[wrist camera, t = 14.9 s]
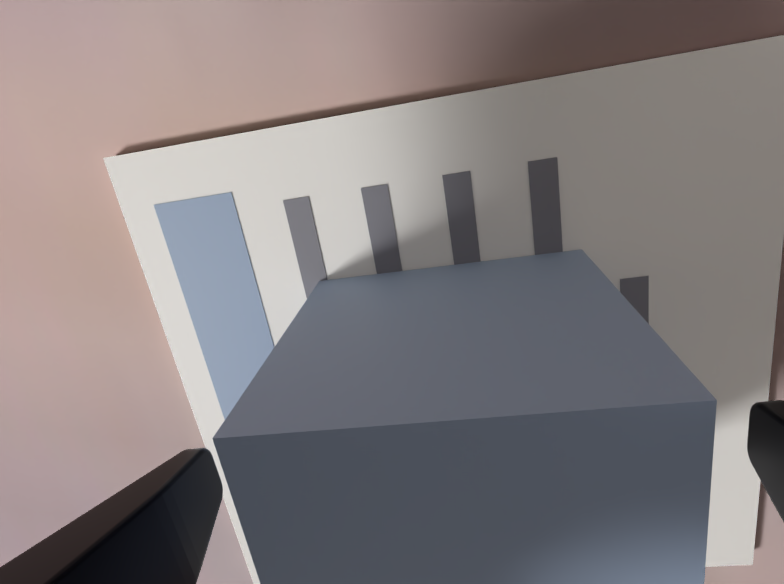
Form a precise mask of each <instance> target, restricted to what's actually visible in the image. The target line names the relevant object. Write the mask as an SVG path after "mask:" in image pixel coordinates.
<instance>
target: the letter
mask: <svg viewBox="0 0 784 584" xmlns="http://www.w3.org/2000/svg"><path fill="white" fill-rule="evenodd" d="M103 159H104V162H105V165H106V168H107V170H108V173H109V176H110V179H111V182H112V185H113V187H114V190H115V193H116V196H117V199H118V202H119V204H120V207H121V210H122V213H123V216H124V219H125V221H126V224H127V227H128V230H129V233H130V236H131V238H132V241H133V244H134V247H135V250H136V252H137V255H138V258H139V261H140V264H141V267H142V269H143V272H144V275H145V278H146V281H147V284H148V286H149V289H150V292H151V295H152V298H153V301H154V303H155V306H156V309H157V312H158V315H159V318H160V320H161V323H162V326H163V329H164V332H165V335H166V337H167V340H168V343H169V346H170V349H171V352H172V354H173V357H174V360H175V363H176V366H177V369H178V371H179V374H180V377H181V380H182V383H183V385H184V388H185V391H186V394H187V397H188V400H189V402H190V405H191V408H192V411H193V414H194V417H195V419H196V422H197V425H198V428H199V431H200V434H201V436H202V439H203V442H204V445H205V448H206V449H208V450H209V451H210V452H211V454H212V456H213V459H214V462H215V465H216V467H217V470H218V473H219V476H220V479H221V482H222V486H223V495H222V496H223V499H224V502H225V504H226V507H227V510H228V513H229V516H230V518H231V521H232V524H233V527H234V530H235V533H236V535H237V538H238V541H239V544H240V547H241V550H242V552H243V555H244V558H245V561H246V564H247V567H248V569H249V572H250V575H251V578H252V581H253V584H260V581H259V578H258V575H257V572H256V569H255V566H254V563H253V560H252V557H251V554H250V551H249V548H248V545H247V542H246V539H245V536H244V533H243V530H242V527H241V524H240V521H239V518H238V515H237V512H236V509H235V506H234V502H233V499H232V496H231V493H230V490H229V487H228V484H227V481H226V478H225V475H224V472H223V469H222V466H221V463H220V460H219V457H218V454H217V451H216V448H215V445H214V442H213V439H212V438H213V437H214V435H215V434H216V432H217V431H218V430H219V428H220V427H221V425H222V424H223V422H224V421H225V419H226V418H227V416H228V415H229V413H230V412H231V410H232V409H233V407H234V406H235V404H236V403H237V402H238V400H239V399H240V397H241V396H242V394H243V393H244V391H245V390H246V388H247V387H248V385H249V384H250V382H251V381H252V379H253V378H254V376H255V375H256V374H257V372H258V371H259V369H260V368H261V366H262V365H263V363H264V362H265V360H266V359H267V357H268V356H269V354H270V353H271V351H272V350H273V349H274V347H275V346H276V344H277V343H278V341H279V340H280V338H281V337H282V335H283V334H284V332H285V331H286V329H287V328H288V326H289V325H290V323H291V322H292V321H293V319H294V318H295V316H296V315H297V313H298V312H299V310H300V309H301V307H302V306H303V304H304V303H305V301H306V300H307V298H308V297H309V295H310V294H311V293H312V291H313V290H314V288H315V287H316V285H317V284H318V282H319V281H323V280H331V279H339V278H348V277H356V276H364V275H373V274H381V273H389V272H398V271H406V270H414V269H423V268H431V267H439V266H448V265H456V264H464V263H473V262H481V261H489V260H498V259H506V258H514V257H523V256H531V255H539V254H548V253H556V252H564V251H572V250H581V249H582V250H583V251H584V252H585V253H586V255H587V256H588V257H589V258H590V259H591V260H592V261H593V262H594V263H595V265H596V266H597V267H598V268H599V269H600V270H601V271H602V272H603V273H604V275H605V276H606V277H607V278H608V279H609V280H610V281H611V282H612V284H613V285H614V286H615V287H616V288H617V289H618V290H619V291H620V292H621V294H622V295H623V296H624V297H625V298H626V299H627V300H628V301H629V303H630V304H631V305H632V306H633V307H634V308H635V309H636V310H637V311H638V313H639V314H640V315H641V316H642V317H643V318H644V319H645V320H646V322H647V323H648V324H649V325H650V326H651V327H652V328H653V329H654V330H655V332H656V333H657V334H658V335H659V336H660V337H661V338H662V339H663V341H664V342H665V343H666V344H667V345H668V346H669V347H670V348H671V349H672V351H673V352H674V353H675V354H676V355H677V356H678V357H679V358H680V360H681V361H682V362H683V363H684V364H685V365H686V366H687V367H688V368H689V370H690V371H691V372H692V373H693V374H694V375H695V376H696V377H697V379H698V380H699V381H700V382H701V383H702V384H703V385H704V386H705V387H706V389H707V390H708V391H709V392H710V393H711V394H712V395H713V396H714V398H715V399H716V400H717V406H716V421H715V435H714V449H713V464H712V478H711V492H710V507H709V521H708V535H707V550H706V564H705V567H713V566H738V565H753V556H754V545H755V535H756V524H757V514H758V503H759V492H760V482H761V480H760V478H759V477H758V475H757V473H756V471H755V469H754V467H753V466H752V464H751V462H750V459H749V456H748V452H747V439H748V427H749V415H750V409H751V407H752V405H753V404H755V403H756V402H765V401H768V397H769V387H770V376H771V366H772V355H773V344H774V334H775V323H776V313H777V302H778V292H779V281H780V270H781V260H782V249H783V239H784V35H780V36H775V37H769V38H764V39H758V40H753V41H747V42H742V43H736V44H731V45H725V46H720V47H714V48H709V49H703V50H698V51H692V52H687V53H681V54H675V55H670V56H664V57H659V58H653V59H648V60H642V61H637V62H631V63H626V64H620V65H615V66H609V67H604V68H598V69H593V70H587V71H582V72H576V73H571V74H565V75H560V76H554V77H548V78H543V79H537V80H532V81H526V82H521V83H515V84H510V85H504V86H499V87H493V88H488V89H482V90H477V91H471V92H466V93H460V94H455V95H449V96H444V97H438V98H432V99H427V100H421V101H416V102H410V103H405V104H399V105H394V106H388V107H383V108H377V109H372V110H366V111H361V112H355V113H350V114H344V115H339V116H333V117H328V118H322V119H317V120H311V121H305V122H300V123H294V124H289V125H283V126H278V127H272V128H267V129H261V130H256V131H250V132H245V133H239V134H234V135H228V136H223V137H217V138H212V139H206V140H201V141H195V142H189V143H184V144H178V145H173V146H167V147H162V148H156V149H151V150H145V151H140V152H134V153H129V154H123V155H118V156H112V157H107V158H103Z"/></svg>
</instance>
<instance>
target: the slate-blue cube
mask: <svg viewBox="0 0 784 584" xmlns="http://www.w3.org/2000/svg"><path fill="white" fill-rule="evenodd" d="M716 406H717V400H716V399H715V398H714V396H713V395H712V394H711V393H710V392H709V391H708V390H707V389H706V387H705V386H704V385H703V384H702V383H701V382H700V381H699V380H698V379H697V377H696V376H695V375H694V374H693V373H692V372H691V371H690V370H689V368H688V367H687V366H686V365H685V364H684V363H683V362H682V361H681V360H680V358H679V357H678V356H677V355H676V354H675V353H674V352H673V351H672V349H671V348H670V347H669V346H668V345H667V344H666V343H665V342H664V341H663V339H662V338H661V337H660V336H659V335H658V334H657V333H656V332H655V330H654V329H653V328H652V327H651V326H650V325H649V324H648V323H647V322H646V320H645V319H644V318H643V317H642V316H641V315H640V314H639V313H638V311H637V310H636V309H635V308H634V307H633V306H632V305H631V304H630V303H629V301H628V300H627V299H626V298H625V297H624V296H623V295H622V294H621V292H620V291H619V290H618V289H617V288H616V287H615V286H614V285H613V284H612V282H611V281H610V280H609V279H608V278H607V277H606V276H605V275H604V273H603V272H602V271H601V270H600V269H599V268H598V267H597V266H596V265H595V263H594V262H593V261H592V260H591V259H590V258H589V257H588V256H587V255H586V253H585V252H584V251H583V250H582V249H581V250H572V251H564V252H556V253H548V254H539V255H531V256H523V257H514V258H506V259H498V260H489V261H481V262H473V263H464V264H456V265H448V266H439V267H431V268H423V269H414V270H406V271H398V272H389V273H381V274H373V275H364V276H356V277H348V278H339V279H331V280H323V281H319V282H318V284H317V285H316V287H315V288H314V290H313V291H312V293H311V294H310V295H309V297H308V298H307V300H306V301H305V303H304V304H303V306H302V307H301V309H300V310H299V312H298V313H297V315H296V316H295V318H294V319H293V321H292V322H291V323H290V325H289V326H288V328H287V329H286V331H285V332H284V334H283V335H282V337H281V338H280V340H279V341H278V343H277V344H276V346H275V347H274V349H273V350H272V351H271V353H270V354H269V356H268V357H267V359H266V360H265V362H264V363H263V365H262V366H261V368H260V369H259V371H258V372H257V374H256V375H255V376H254V378H253V379H252V381H251V382H250V384H249V385H248V387H247V388H246V390H245V391H244V393H243V394H242V396H241V397H240V399H239V400H238V402H237V403H236V404H235V406H234V407H233V409H232V410H231V412H230V413H229V415H228V416H227V418H226V419H225V421H224V422H223V424H222V425H221V427H220V428H219V430H218V431H217V432H216V434H215V435H214V437H213V438H212V439H213V442H214V445H215V448H216V451H217V454H218V457H219V460H220V463H221V466H222V469H223V472H224V475H225V478H226V481H227V484H228V487H229V490H230V493H231V496H232V499H233V502H234V506H235V509H236V512H237V515H238V518H239V521H240V524H241V527H242V530H243V533H244V536H245V539H246V542H247V545H248V548H249V551H250V554H251V557H252V560H253V563H254V566H255V569H256V572H257V575H258V578H259V581H260V584H704V578H705V564H706V550H707V535H708V521H709V507H710V492H711V478H712V464H713V449H714V435H715V421H716Z"/></svg>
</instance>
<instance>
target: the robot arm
mask: <svg viewBox="0 0 784 584" xmlns="http://www.w3.org/2000/svg"><path fill="white" fill-rule="evenodd" d="M747 452H748V456H749V459H750V462H751V464H752V466H753V467H754V469H755V471H756V473H757V475H758V477H759V478H760V480H761V482H762V484H763V486H764V487H765V489H766V491H767V493H768V495H769V496H770V498H771V500H772V502H773V504H774V506H775V507H776V509H777V511H778V513H779V515H780V516H781V518H782V520H783V522H784V401H783V400H776V401H765V402H756V403H755V404H753V405H752V407H751V409H750V415H749V427H748V439H747ZM222 495H223V486H222V482H221V479H220V476H219V473H218V470H217V467H216V465H215V462H214V459H213V456H212V454H211V452H210V451H209V450H208V449H206V448H197V449H187V450H184V451H182V452H180V453H179V454H177V455H176V456H174V457H173V458H171V459H169V460H168V461H166V462H165V463H163V464H162V465H160V466H158V467H157V468H155V469H154V470H152V471H151V472H149V473H147V474H146V475H144V476H143V477H141V478H140V479H138V480H136V481H135V482H133V483H132V484H130V485H129V486H127V487H125V488H124V489H122V490H121V491H119V492H118V493H116V494H115V495H113V496H111V497H110V498H108V499H107V500H105V501H104V502H102V503H100V504H99V505H97V506H96V507H94V508H93V509H91V510H89V511H88V512H86V513H85V514H83V515H82V516H80V517H78V518H77V519H75V520H74V521H72V522H71V523H69V524H67V525H66V526H64V527H63V528H61V529H60V530H58V531H57V532H55V533H53V534H52V535H50V536H49V537H47V538H46V539H44V540H42V541H41V542H39V543H38V544H36V545H35V546H33V547H31V548H30V549H28V550H27V551H25V552H24V553H22V554H20V555H19V556H17V557H16V558H14V559H13V560H11V561H9V562H8V563H6V564H5V565H3V566H2V567H0V584H196V582H197V579H198V576H199V573H200V570H201V567H202V564H203V560H204V557H205V554H206V550H207V547H208V544H209V540H210V537H211V534H212V530H213V527H214V524H215V520H216V517H217V514H218V510H219V507H220V504H221V500H222Z"/></svg>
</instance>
